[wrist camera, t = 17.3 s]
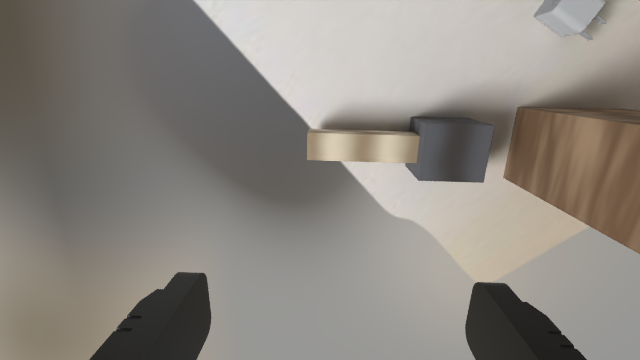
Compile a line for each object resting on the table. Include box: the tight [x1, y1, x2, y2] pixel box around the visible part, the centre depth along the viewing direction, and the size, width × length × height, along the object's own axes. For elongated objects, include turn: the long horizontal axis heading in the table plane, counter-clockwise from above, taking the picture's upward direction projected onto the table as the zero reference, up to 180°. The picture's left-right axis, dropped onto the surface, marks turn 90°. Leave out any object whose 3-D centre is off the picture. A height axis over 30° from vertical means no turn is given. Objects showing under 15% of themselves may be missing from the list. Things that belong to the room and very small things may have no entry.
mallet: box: [307, 117, 495, 183], centre depth 41 cm, size 22×7×7 cm, turn 89°
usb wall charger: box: [534, 0, 606, 40], centre depth 37 cm, size 4×7×4 cm, turn 59°
